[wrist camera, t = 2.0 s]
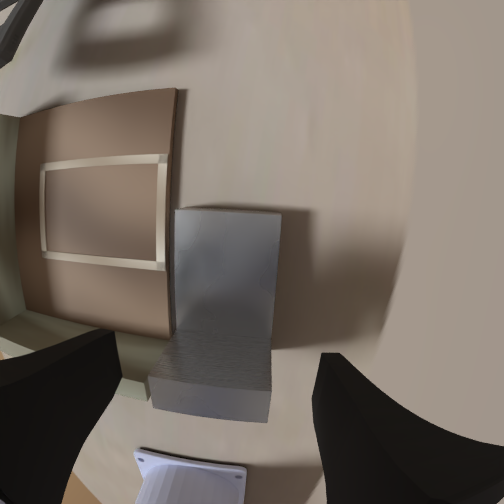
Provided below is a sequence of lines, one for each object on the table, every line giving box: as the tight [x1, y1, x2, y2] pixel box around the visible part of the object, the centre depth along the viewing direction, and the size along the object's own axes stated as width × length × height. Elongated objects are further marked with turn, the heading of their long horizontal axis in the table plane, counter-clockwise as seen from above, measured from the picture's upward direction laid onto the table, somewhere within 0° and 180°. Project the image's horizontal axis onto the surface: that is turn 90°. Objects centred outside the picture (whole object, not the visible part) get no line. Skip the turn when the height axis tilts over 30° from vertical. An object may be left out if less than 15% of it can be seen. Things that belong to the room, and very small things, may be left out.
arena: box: [0, 88, 178, 402], centre depth 11 cm, size 12×11×4 cm
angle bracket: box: [148, 207, 282, 423], centre depth 10 cm, size 6×4×5 cm, turn 177°
